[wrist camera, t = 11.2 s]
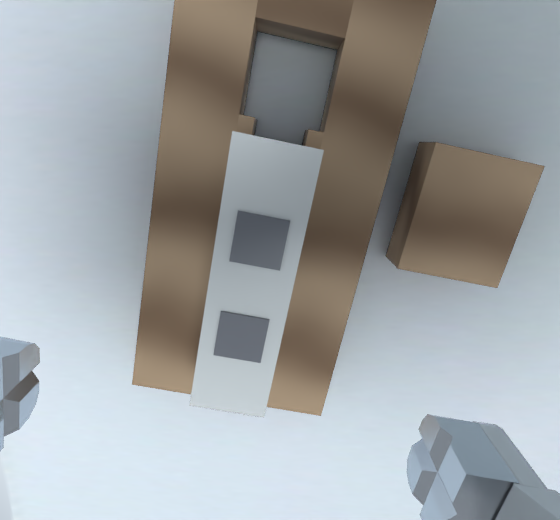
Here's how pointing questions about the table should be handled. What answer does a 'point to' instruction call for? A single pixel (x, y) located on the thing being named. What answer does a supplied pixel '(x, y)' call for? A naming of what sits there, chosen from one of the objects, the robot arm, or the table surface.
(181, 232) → the keyhole board
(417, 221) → the brown block
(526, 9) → the table surface
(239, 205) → the power strip
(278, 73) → the table surface
